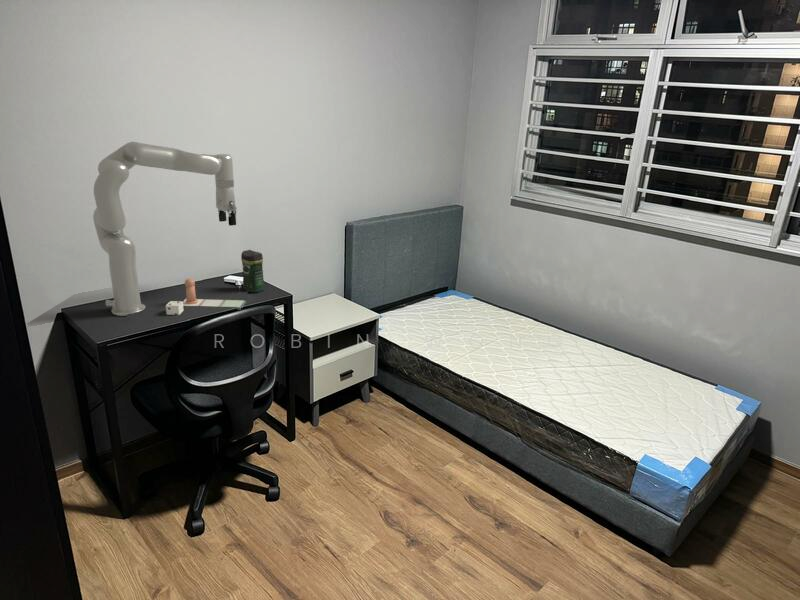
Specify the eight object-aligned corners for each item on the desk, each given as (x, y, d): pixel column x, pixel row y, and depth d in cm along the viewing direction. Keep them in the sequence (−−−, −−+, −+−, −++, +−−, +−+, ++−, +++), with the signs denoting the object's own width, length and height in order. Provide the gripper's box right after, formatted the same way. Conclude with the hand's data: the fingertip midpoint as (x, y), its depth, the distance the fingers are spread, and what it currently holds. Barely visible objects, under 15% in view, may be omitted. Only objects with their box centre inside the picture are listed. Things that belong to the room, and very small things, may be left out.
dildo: (184, 304, 235) (181, 280, 232) (188, 300, 240) (185, 276, 236) (195, 304, 235) (193, 280, 232) (199, 300, 240) (197, 277, 236)
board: (177, 308, 234) (177, 305, 233) (184, 300, 242) (184, 298, 242) (240, 309, 234) (240, 307, 234) (246, 302, 243) (245, 300, 242)
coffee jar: (267, 290, 258) (265, 251, 252) (253, 294, 252) (251, 254, 246) (254, 285, 264) (252, 247, 258) (240, 289, 258) (237, 250, 252)
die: (166, 317, 224) (165, 304, 222) (171, 312, 229) (170, 300, 227) (179, 317, 224) (177, 305, 222) (183, 312, 229) (182, 300, 227)
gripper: (208, 182, 244) (211, 220, 250) (225, 187, 232) (228, 227, 238) (224, 180, 249) (227, 218, 255) (242, 186, 237) (244, 225, 243)
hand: (227, 223), depth 246 cm, fingers open, 9 cm apart
